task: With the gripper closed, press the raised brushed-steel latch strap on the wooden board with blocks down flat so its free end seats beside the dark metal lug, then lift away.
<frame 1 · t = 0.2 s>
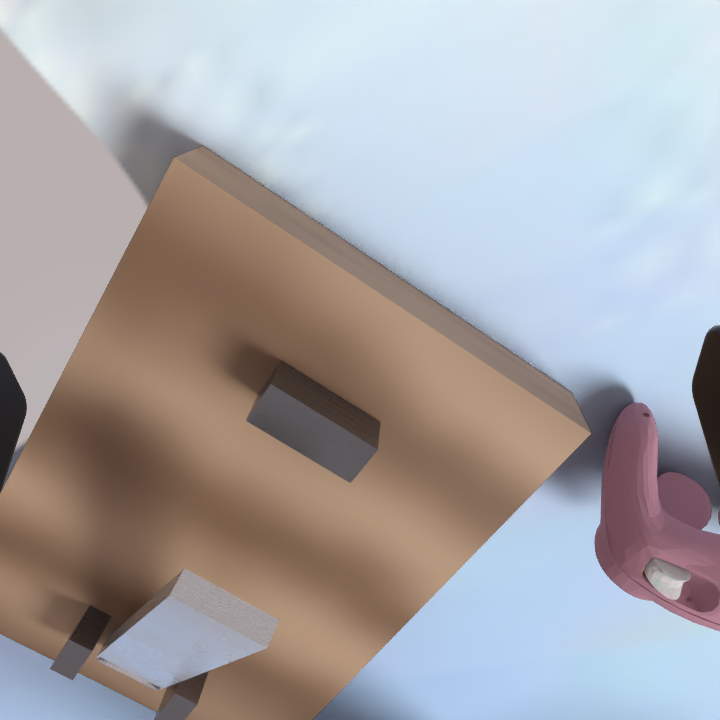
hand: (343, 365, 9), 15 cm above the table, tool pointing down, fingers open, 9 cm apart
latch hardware: (212, 560, 25), on the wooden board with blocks, point 3 cm above the table
latch strap: (167, 644, 23), point 7 cm above the table, hinge at 28.0°
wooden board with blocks: (248, 483, 28), on the table
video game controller: (707, 478, 27), on the table
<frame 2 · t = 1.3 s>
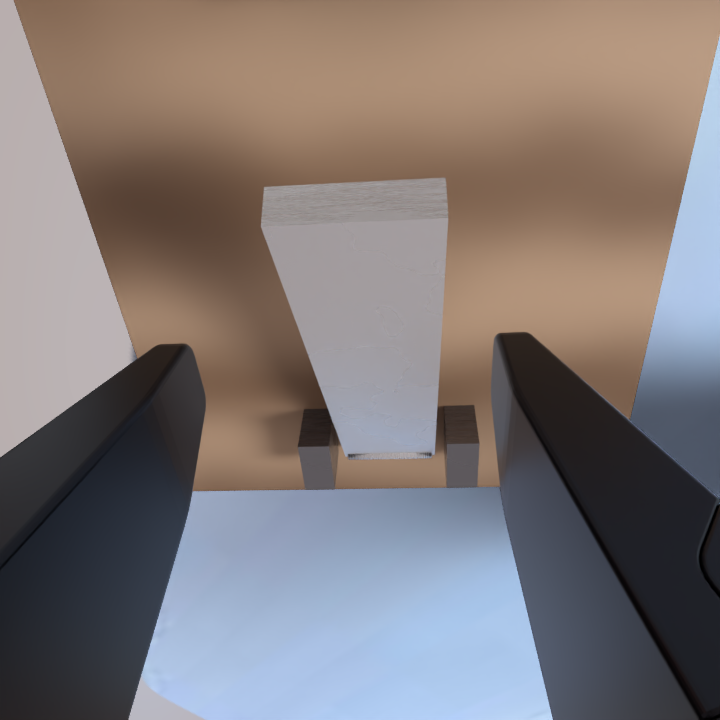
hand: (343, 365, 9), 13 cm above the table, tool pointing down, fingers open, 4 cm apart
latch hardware: (377, 258, 18), on the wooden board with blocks, point 3 cm above the table
latch strap: (378, 371, 17), point 7 cm above the table, hinge at 28.0°
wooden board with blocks: (378, 171, 20), on the table
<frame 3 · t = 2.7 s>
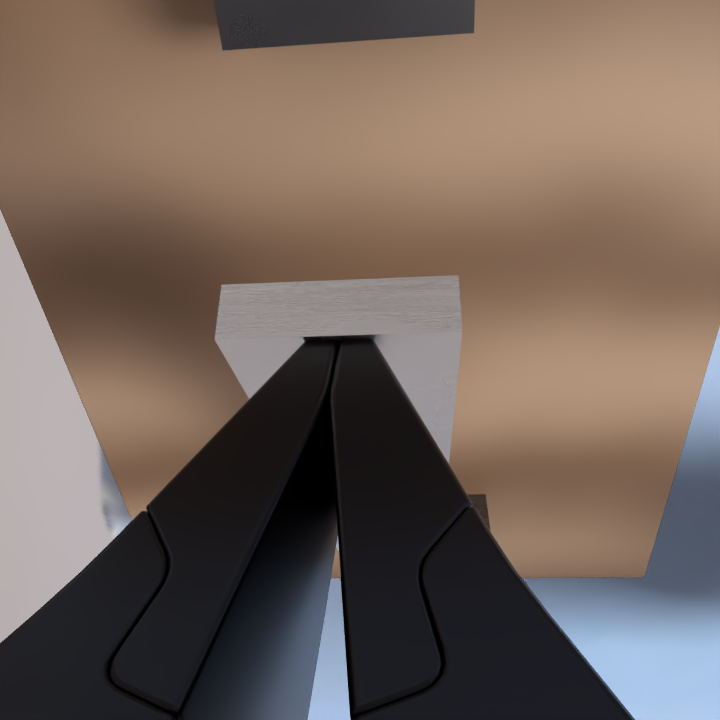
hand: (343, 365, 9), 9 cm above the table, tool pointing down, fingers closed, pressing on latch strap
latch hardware: (373, 343, 15), on the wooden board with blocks, point 3 cm above the table
latch strap: (374, 474, 14), point 6 cm above the table, hinge at 26.2°, touching gripper
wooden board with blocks: (376, 231, 18), on the table
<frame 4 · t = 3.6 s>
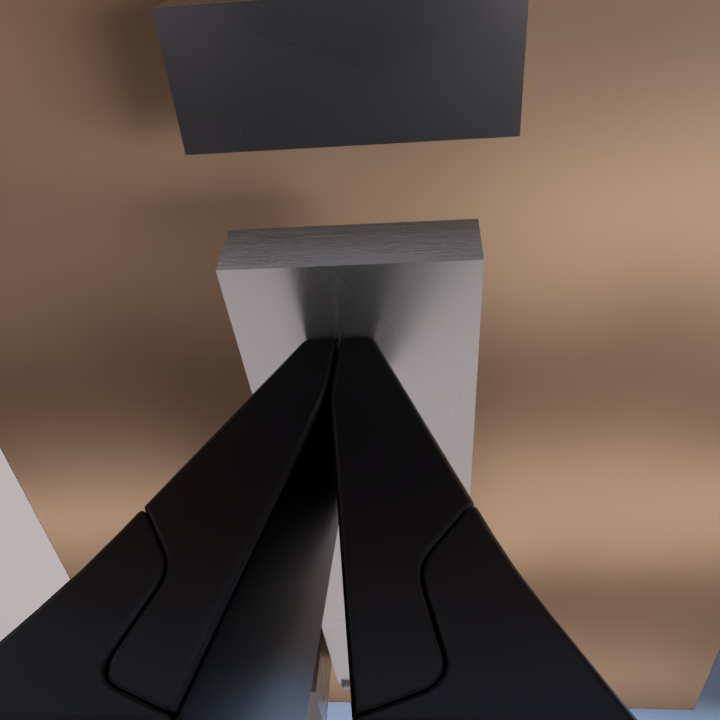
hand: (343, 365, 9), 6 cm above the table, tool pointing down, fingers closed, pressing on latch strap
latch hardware: (381, 476, 12), on the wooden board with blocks, point 3 cm above the table
latch strap: (383, 544, 12), point 5 cm above the table, hinge at 9.3°, touching gripper
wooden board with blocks: (385, 323, 15), on the table
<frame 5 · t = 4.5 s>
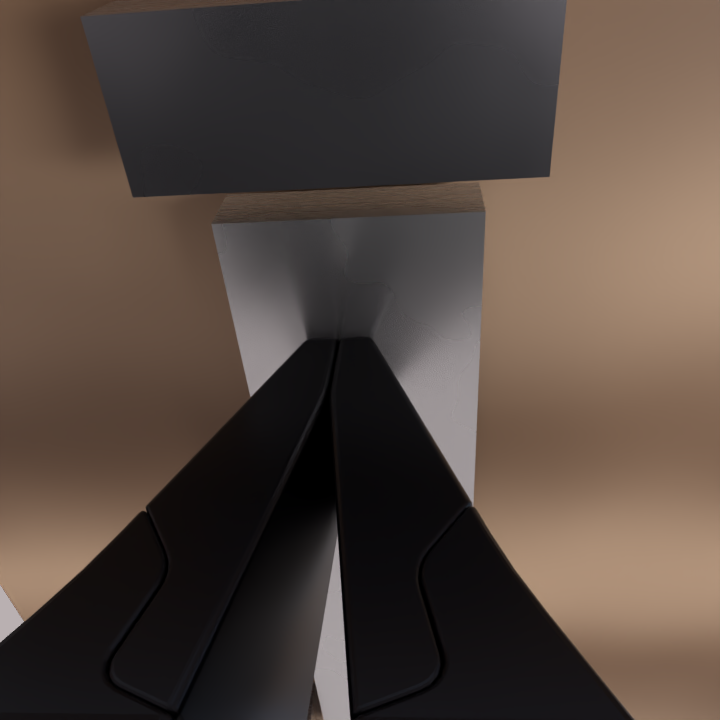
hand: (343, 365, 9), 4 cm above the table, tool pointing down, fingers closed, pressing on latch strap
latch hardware: (378, 545, 11), on the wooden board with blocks, point 3 cm above the table
latch strap: (381, 567, 12), point 4 cm above the table, hinge at 0.6°, touching gripper
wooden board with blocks: (382, 360, 13), on the table
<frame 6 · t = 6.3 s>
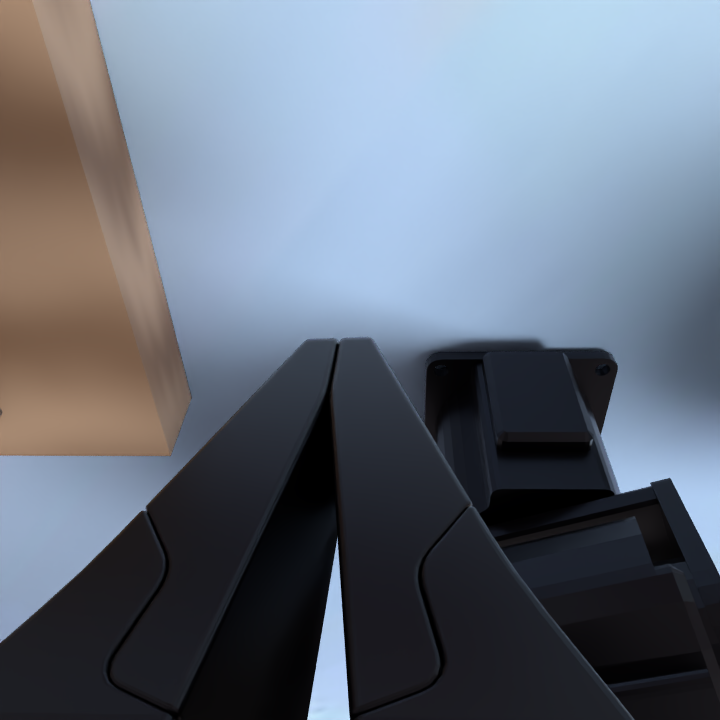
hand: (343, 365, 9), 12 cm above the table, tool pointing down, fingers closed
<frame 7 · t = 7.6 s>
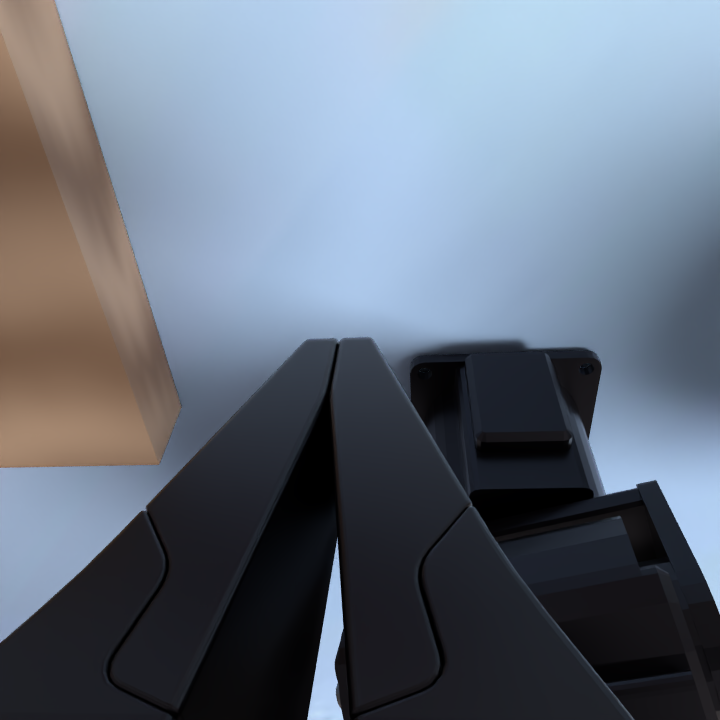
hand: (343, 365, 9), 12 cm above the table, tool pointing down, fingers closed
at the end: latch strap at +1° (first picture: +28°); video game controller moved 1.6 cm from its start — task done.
